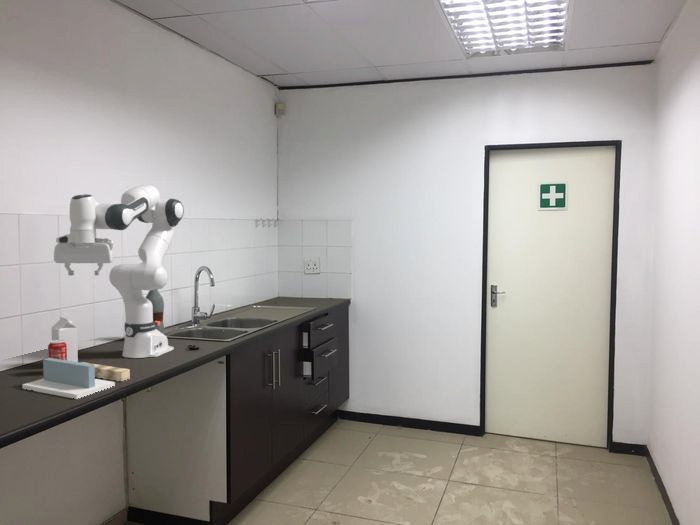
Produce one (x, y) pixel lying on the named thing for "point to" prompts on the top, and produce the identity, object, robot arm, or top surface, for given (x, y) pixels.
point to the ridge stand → (68, 379)
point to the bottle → (157, 308)
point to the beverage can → (57, 350)
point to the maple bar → (111, 372)
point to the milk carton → (66, 337)
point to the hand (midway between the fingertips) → (84, 275)
